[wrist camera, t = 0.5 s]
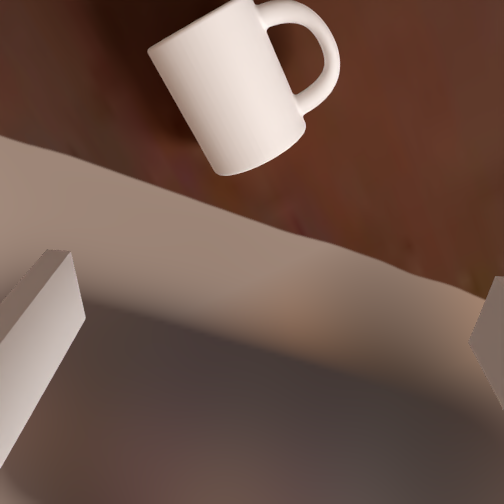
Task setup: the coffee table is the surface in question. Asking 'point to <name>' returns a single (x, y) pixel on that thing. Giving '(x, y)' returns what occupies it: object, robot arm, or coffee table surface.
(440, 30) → the coffee table surface
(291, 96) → the mug
